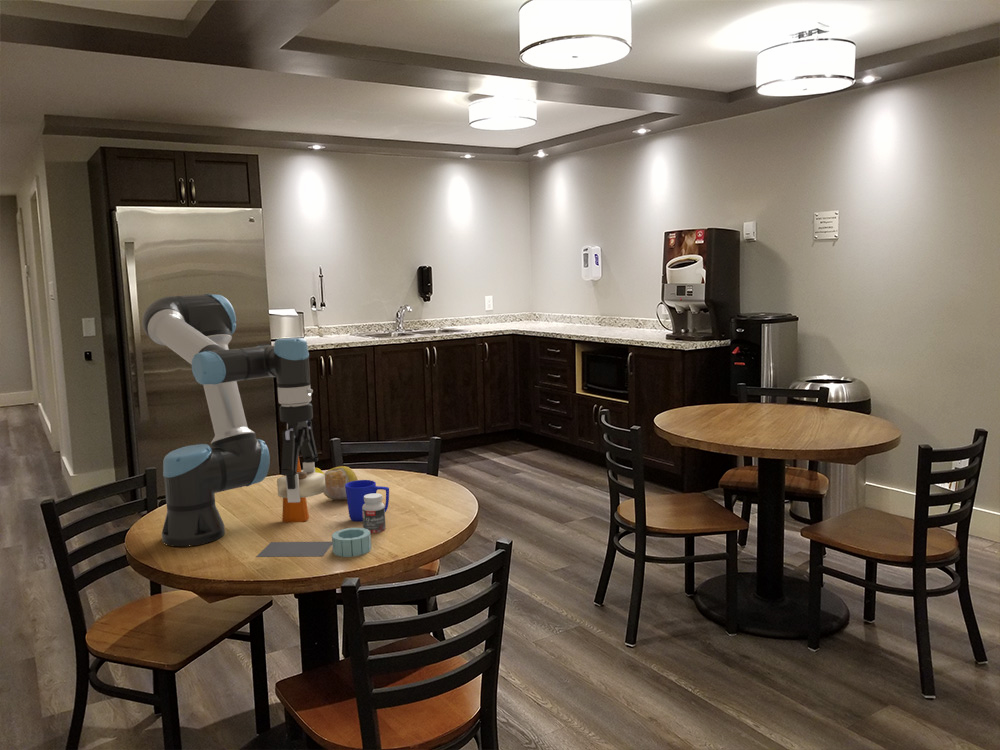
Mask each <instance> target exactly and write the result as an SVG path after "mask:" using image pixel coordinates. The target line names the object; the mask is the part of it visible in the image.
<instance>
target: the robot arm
mask: <svg viewBox="0 0 1000 750" xmlns="http://www.w3.org/2000/svg"><path fill="white" fill-rule="evenodd" d="M236 322H237V315H236V312H235V309H234V307H233V305H232V304H231V302H230V300H228V298H226V297H224V296H223V295H221V294H210V293H204V294H194V295H193V294H191V295H188V294H187V295H170V296H168V295H167V296H164V297H161V298H158V299H157V300H154V301H153V302H152V303H150V304H149V305H148V306H147V308H146V309H145V310H144V313H143V315H142V322H141V323H142V329H143V331H144V333H145V335H146V336H147V337H148V338H149V339H150V340H151V341H153V342H154V343H155V344H158V345H161V346H166V347H167V348H168V349H169V350H171V351H173V352H174V353H176V355H178V356H180V357H181V358H182V359H184V360H185V361H186V362H187V363H189V365H191V372H192V375H193V377H194V378H195V382H196V383H198V384H200V385H202V386H203V390H204V394H205V399H206V402H207V406H208V410H209V411H208V412H209V416H210V420H211V424H212V429H213V433H214V437H213V438H212V440H211V442H210V445H211V446H210V445H209V444H206V443H198V444H191V445H185V446H183V447H179V448H177V449H174V450H171V451H170V452H168V453H167V454H166V455H165V456H164V458H163V460H162V461H163V462H162V463H163V464H162V467H163V470H162V475H163V481H164V491H165V501H166V503H165V504H166V515H165V520H164V522H163V527H162V530H161V538H162V539H161V542H162V541H163V542H162V544H164V543H165V544H167V545H166V546H168V545H173V546H172V547H174V546H186V547H190V546H189V545H195V546H199V545H198V544H201V545H204V544H203V543H205V544H208V542H209V543H211V541H212V542H214V540H215V541H216V540H217V541H218V540H219V539H221V538H222V537H223V536H224V535H225V533H226V530H225V529H226V528H225V524H224V521H223V518H222V517H221V514H220V512H219V510H218V508H217V506H216V495H215V494H217V493H220V492H227V491H230V490H236V489H238V488H244V487H250V486H251V485H256V484H259V483H261V482H262V481H264V480H265V479H266V478H267V475H268V473H269V469H270V463H271V462H270V461H271V459H270V451H269V448H268V445H267V444H266V442H265V441H264V440H263V439H259V438H258V439H257V435H256V432H255V431H253V430H252V429H250V428H249V427H248V423H247V419H246V415H245V412H244V407H243V403H242V398H241V394H240V391H239V386H238V382H240V381H248V380H255V379H262V378H276V383H277V384H276V385H277V399H278V404H279V405H280V406H279V407H278V410H279V420H280V422H282V423H286V425H287V424H288V429H287V428H286V430H282V432H281V435H282V436H281V438H282V446H281V447H282V449H281V451H282V452H281V468H280V469H281V472H280V475H281V476H284V475H286V485H287V497H288V503H289V502H300V490H299V477H298V474H296V473H297V464H298V457H299V455H300V453H301V455H302V459H303V462H302V470H303V472H315V468H316V467H315V462H318V461H319V456H318V452H317V446H316V442H315V441H316V440H315V437H314V436H315V435H314V432H313V424H312V423H313V422H312V420H313V418H314V413H313V412H314V411H313V404H312V403H311V401H312V394H313V393H314V390H313V388H311V370H310V369H311V368H310V353H309V347H308V340H307V339H305V338H304V337H287V338H286V337H282V338H277V339H275V341H274V344H273V345H271V344H262V345H258V346H257V345H256V346H252V347H251V346H250V347H243V348H231V349H230V348H229V344H230V342H231V341H232V339H233V336H232V335H233V334H234V333H235V331H236V329H237V323H236ZM299 458H300V457H299ZM289 468H290V469H289ZM165 544H164V545H165Z"/></svg>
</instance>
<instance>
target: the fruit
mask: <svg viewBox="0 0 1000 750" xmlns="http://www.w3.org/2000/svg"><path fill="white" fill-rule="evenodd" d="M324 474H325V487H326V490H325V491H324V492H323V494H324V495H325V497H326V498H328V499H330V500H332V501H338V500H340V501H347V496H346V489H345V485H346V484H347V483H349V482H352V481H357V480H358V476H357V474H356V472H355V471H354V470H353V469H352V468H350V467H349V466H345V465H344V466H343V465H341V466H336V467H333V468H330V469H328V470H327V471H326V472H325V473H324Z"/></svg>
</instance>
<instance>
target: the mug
mask: <svg viewBox="0 0 1000 750" xmlns="http://www.w3.org/2000/svg"><path fill="white" fill-rule="evenodd" d="M345 489H346V496H347V500H346V503H347V509H348V517H349V519H350V520H351V521H352V522H356V523H357V522H360V523H361V522H362V523H363V515H362V506H363V505H364V504H365V502H364V496H365V495H367V494H372V493H378V492H377V491H378V490H382V491H385V503H384V506H385V513H387V510H388V508H389V501H390V500H389V499H390V487H387V486H381V485H380V486H379V485H377V483H376V481H374V480H371V479H359V480H357V481H352V482H349V483H347V484H346V485H345Z"/></svg>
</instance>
